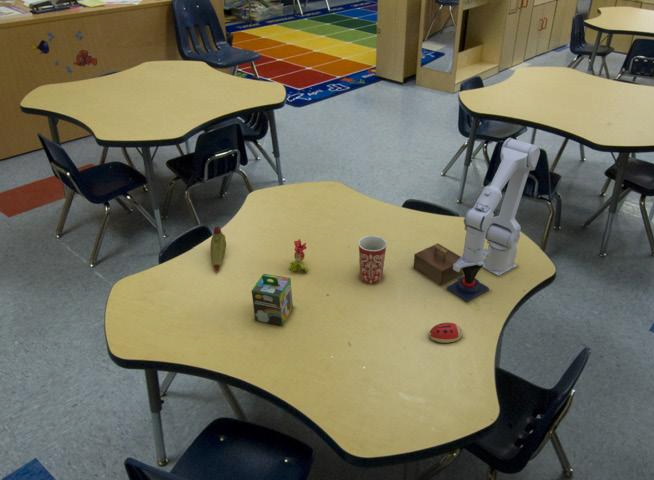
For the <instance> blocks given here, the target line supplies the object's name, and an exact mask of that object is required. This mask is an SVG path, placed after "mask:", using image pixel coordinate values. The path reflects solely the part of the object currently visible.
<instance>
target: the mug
mask: <svg viewBox="0 0 654 480" xmlns="http://www.w3.org/2000/svg"><path fill="white" fill-rule="evenodd" d="M357 244H358V256H359V278H360V280H361V281H362V282H363V283H366V284H370V285H371V284H372V285H373V284H378V283H380V282H381V281H382V280H383V275H384V274H383V273H384V267H385V259H386V252H387V251H386V250H387V246H388V243H387V240H386V239H384V238H383V237H381V236H378V235H366V236H363V237H362V238H359V240H358V242H357Z"/></svg>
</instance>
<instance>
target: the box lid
mask: <svg viewBox="0 0 654 480" xmlns="http://www.w3.org/2000/svg"><path fill="white" fill-rule="evenodd" d="M414 256H416V257H418V258H419V259H421V260H423V261H424V262H426V263H427V264H429V265H431V266H432V267H434V268H435V269H437V270H439V271H440V272H444V271H446V270H448V269H450V268H452V267H453V265H454V264H455V263H456V262H457V261H458V260H459V259H460V257H461V256H462V255H461V256H460V255H459V254H457V253H456V252H453V251H452V250H450V249H449V248H447V247H445V246H444V245H442V244H440V243H435V244H433V245H431V246H429V247H427V248H425V249H422V250H419V251H418V252H416V253H414Z"/></svg>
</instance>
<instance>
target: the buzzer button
mask: <svg viewBox="0 0 654 480" xmlns="http://www.w3.org/2000/svg"><path fill="white" fill-rule="evenodd" d="M462 285H464V286H466V287H474V286H475V281H473V283H471V284H469V283H467V282H466V281H465V279H463V280H462Z"/></svg>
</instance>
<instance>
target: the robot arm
mask: <svg viewBox="0 0 654 480" xmlns="http://www.w3.org/2000/svg"><path fill="white" fill-rule="evenodd" d="M540 155H541V150H540V147H539V145H537V144H533V143H529V142H525V141H522V140H518V139H515V138H513V137H507V139H505V140H504V142H503V144H502V145H501V150H500V163H499V166H498V167H497V170H496V171H495V174H494V176H493V178H492V180H491V182H490V185H487V186H486V187H484V188H483V189H482V191H481V193H480V195H479V196H478V198H477V200H476V202H475V203H474V205H473V207H470V208H469V209H468V210H467V211H466V213H465V214H464V218H463V224H464V231H465V237H464V244H463V250H462V251H463V252H462V255H461V257H460V259H459V260H458V261H457V262H456V263H455V264H454V265H453V270H455V271H457V272H459V271H460V269H461V268H462V270H463V277H465V281H466V282H467V283H469V284H471V283H473V281H474V279H476V276H477V275H478V273H479V271H480V270H481V269H482V268H483V269H485V270H486V271H488V272H490V273H492V274H494V275H496V276H497V277H500V276H501V275H503V274H505V273H507V272H509V271H510V270H513V269H514V268H516V267H517V264H516V263H515V262H516V256H517V253H518V247H517V245H518V244H519V240H520V237H521V230H522V229H521V228H522V226H521V225H520V224H519V222H518V221H517V219H516V215H517V213H518V208H519V205H520V203H521V200H522V196H523V192H524V190H525V186H526V183H527V179H528V177H529V174H530V171H535V170H536V167H537V165H538V161H539V158H540ZM506 185H507V187H506ZM505 187H506V190H505V194H504V197H503V194H502V190H503V189H504V188H505ZM502 199H503V200H502ZM501 200H502V203H501V207H500V210H499V214H498V215H496V216H495V213H494V212H495V210H496V208H497V207H498V205H499V203H500V202H501ZM485 243H486V244H488V246H487V248H484V247H485ZM485 259H486V260H485ZM484 260H485V261H484Z"/></svg>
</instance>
